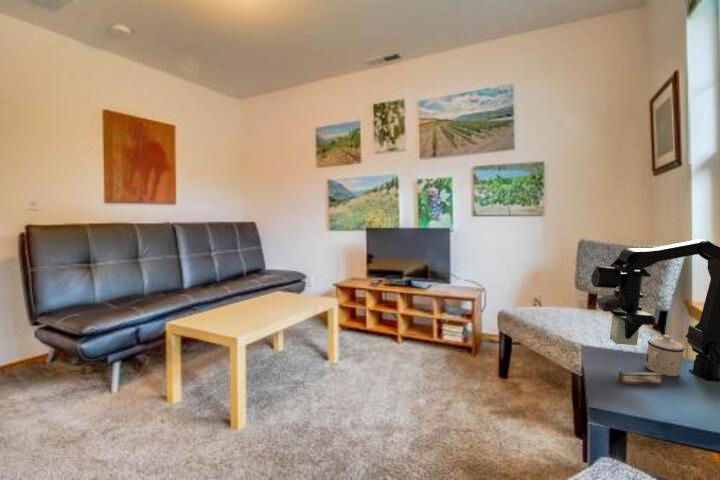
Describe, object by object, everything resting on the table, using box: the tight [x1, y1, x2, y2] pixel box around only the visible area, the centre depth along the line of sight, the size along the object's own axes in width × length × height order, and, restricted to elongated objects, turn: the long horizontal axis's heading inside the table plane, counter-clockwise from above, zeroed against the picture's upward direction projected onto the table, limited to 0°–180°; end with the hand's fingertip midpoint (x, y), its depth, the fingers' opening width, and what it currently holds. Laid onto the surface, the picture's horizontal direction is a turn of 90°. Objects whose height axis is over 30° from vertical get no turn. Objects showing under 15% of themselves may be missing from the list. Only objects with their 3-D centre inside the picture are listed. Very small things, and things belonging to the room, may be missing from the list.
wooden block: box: [617, 371, 663, 385], centre depth 110 cm, size 12×2×3 cm, turn 90°
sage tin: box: [609, 315, 640, 346], centre depth 118 cm, size 4×6×8 cm, turn 81°
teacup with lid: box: [645, 334, 685, 377], centre depth 117 cm, size 12×9×12 cm
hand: (623, 336), depth 118 cm, fingers closed on sage tin, 4 cm apart
